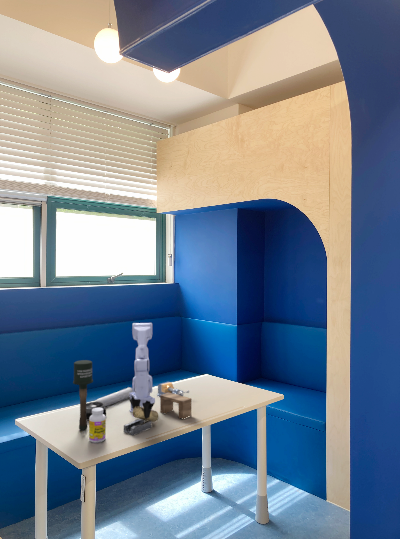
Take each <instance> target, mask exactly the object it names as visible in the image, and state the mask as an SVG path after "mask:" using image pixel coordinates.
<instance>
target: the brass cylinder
mask: <svg viewBox="0 0 400 539" xmlns="http://www.w3.org/2000/svg"><path fill="white" fill-rule="evenodd" d="M132 416H133V418H135V419H142V420H144V421H145V422H146V421H148V420H150V421H151V423H156V422H157V421H158V419H159V412H158V411H156V410H154V409H151V413H150V417H149V418H145V413H144V407H140V406H136V407H135V408H134V409H133V412H132Z"/></svg>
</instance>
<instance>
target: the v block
mask: <svg viewBox="0 0 400 539" xmlns="http://www.w3.org/2000/svg"><path fill="white" fill-rule="evenodd" d="M150 429H152V422H151V421H150V420H148V421H146V420H142V419H139V418H137V419H135V420H133V421H131V422H129V423H125V424H124V425H123V432H124V433H126V434H128V435H130V436H131V435H132V436H135V435H137V434H139V433H143V432H145V431H147V430H150Z"/></svg>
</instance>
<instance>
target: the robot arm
mask: <svg viewBox="0 0 400 539" xmlns="http://www.w3.org/2000/svg"><path fill="white" fill-rule="evenodd" d="M131 331H132V332H131V333H132V338H133V340H134V341H136V342H137V345H138V346H137V347H136V348H135V360H134V363H133V364H134V368H133V369H134V377H133V378H132V386H131V388H132V392H131V393H129V397H130V399H129V400H128V401H129V403H130V410H128V412H130V413H133V409H134V408H135V407H136V406H140V407H144V413H145V418H149V417H150V413H151V410H153V407H154V405H155V403H156V398H155V397H153V396H152V395H151V394H152V393H153V377H152V375H150V374H149V372H150V359H149V348H148V346H147V345H148V342H149V340H152V337H153V323H152V322H140V323H139V322H133V323H132V329H131Z"/></svg>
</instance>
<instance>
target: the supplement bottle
mask: <svg viewBox="0 0 400 539" xmlns="http://www.w3.org/2000/svg"><path fill="white" fill-rule="evenodd" d="M106 419H107V416H105V415H104V414H103V408H93V409H92V415H91V416H90V418H89V421H88V423H89V424H88V431H89V432H88V438H89V439H88V440H89V442H90V443H94V444H97V443H102V442H104V441H105V440H106V429H107V426H106V425H107V423H106V421H107V420H106Z"/></svg>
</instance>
